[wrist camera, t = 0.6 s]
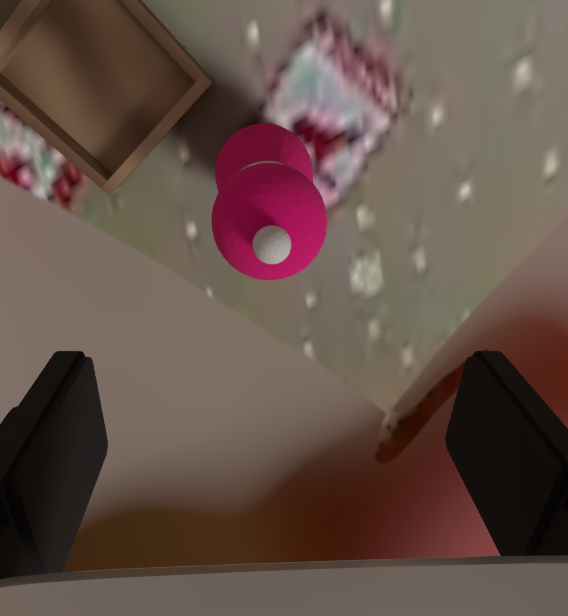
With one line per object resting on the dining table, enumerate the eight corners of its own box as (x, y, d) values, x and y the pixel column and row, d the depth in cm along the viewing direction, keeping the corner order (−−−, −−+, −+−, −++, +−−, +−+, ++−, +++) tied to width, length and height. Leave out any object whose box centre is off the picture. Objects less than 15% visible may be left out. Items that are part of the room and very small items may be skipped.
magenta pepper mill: (202, 142, 37) (157, 214, 19) (284, 100, 36) (315, 136, 18) (244, 221, 40) (237, 344, 22) (320, 185, 39) (375, 284, 21)
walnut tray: (85, -62, 30) (72, -72, 28) (214, 81, 35) (211, 83, 33) (-12, 72, 34) (-31, 73, 31) (118, 187, 38) (109, 195, 36)
